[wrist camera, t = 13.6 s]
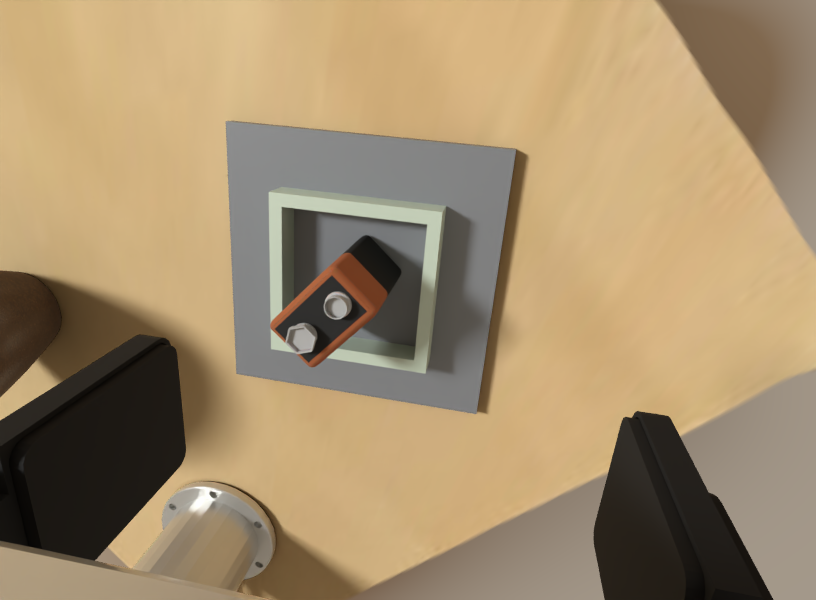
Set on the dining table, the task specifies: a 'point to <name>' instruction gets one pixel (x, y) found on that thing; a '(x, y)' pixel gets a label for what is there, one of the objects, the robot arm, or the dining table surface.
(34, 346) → the plant pot
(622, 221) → the dining table surface
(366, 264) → the battery
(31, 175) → the dining table surface
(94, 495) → the robot arm
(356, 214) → the slot tray
